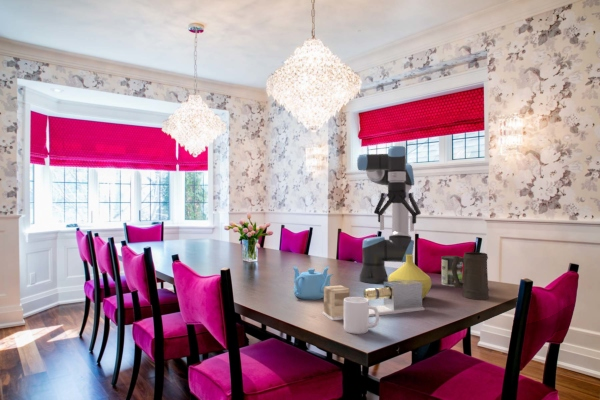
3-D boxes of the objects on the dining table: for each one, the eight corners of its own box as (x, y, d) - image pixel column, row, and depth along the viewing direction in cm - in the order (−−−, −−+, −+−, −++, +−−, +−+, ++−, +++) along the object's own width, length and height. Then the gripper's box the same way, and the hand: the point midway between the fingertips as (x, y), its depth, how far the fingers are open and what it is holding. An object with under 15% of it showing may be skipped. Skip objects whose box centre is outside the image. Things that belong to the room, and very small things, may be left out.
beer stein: (489, 295, 181) (485, 251, 181) (492, 300, 171) (488, 254, 171) (453, 294, 186) (450, 252, 186) (454, 300, 176) (450, 254, 176)
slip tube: (406, 294, 161) (407, 284, 161) (413, 296, 157) (413, 286, 157) (363, 298, 154) (363, 288, 154) (368, 301, 150) (368, 290, 150)
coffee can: (466, 284, 203) (466, 257, 203) (456, 287, 196) (456, 259, 196) (447, 281, 211) (447, 255, 211) (437, 284, 204) (437, 256, 204)
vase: (408, 306, 162) (408, 259, 162) (379, 296, 178) (379, 253, 178) (440, 300, 171) (440, 256, 171) (410, 291, 187) (410, 251, 187)
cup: (349, 324, 138) (349, 295, 138) (382, 330, 132) (382, 299, 132) (339, 331, 131) (339, 300, 131) (375, 337, 125) (375, 305, 125)
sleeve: (383, 307, 159) (383, 281, 159) (411, 305, 164) (411, 279, 164) (393, 312, 153) (393, 285, 152) (422, 309, 157) (422, 282, 157)
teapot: (328, 291, 188) (328, 265, 188) (333, 301, 170) (333, 272, 170) (292, 291, 188) (292, 265, 188) (293, 301, 169) (293, 272, 169)
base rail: (322, 313, 151) (322, 311, 151) (410, 304, 165) (410, 302, 165) (331, 320, 142) (331, 318, 142) (424, 310, 156) (424, 307, 156)
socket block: (323, 314, 150) (323, 286, 150) (341, 312, 153) (341, 285, 153) (331, 319, 144) (331, 290, 143) (349, 317, 146) (349, 289, 146)
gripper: (366, 182, 177) (366, 229, 177) (422, 181, 163) (422, 232, 163) (373, 182, 183) (373, 228, 183) (428, 181, 169) (428, 231, 169)
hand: (396, 230), depth 173 cm, fingers open, 13 cm apart
